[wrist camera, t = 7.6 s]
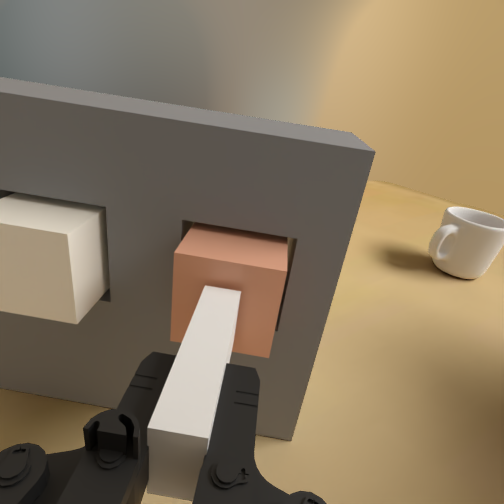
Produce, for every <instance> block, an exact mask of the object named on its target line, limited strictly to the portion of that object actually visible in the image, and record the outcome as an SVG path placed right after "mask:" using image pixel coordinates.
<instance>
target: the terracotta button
mask: <svg viewBox="0 0 504 504" xmlns="http://www.w3.org/2000/svg"><path fill="white" fill-rule="evenodd" d="M287 247H288V237H283V236H277V235H271V234H265V233H259V232H253V231H247V230H241V229H235V228H229V227H223V226H217V225H211V224H205V223H199V222H194V224H193V225H192V227H191V228H190V230H189V231H188V233H187V234H186V236H185V237H184V238H183V240H182V241H181V243H180V244H179V246H178V247H177V249H176V250H175V252H174V264H173V288H172V311H171V335H170V341H174V342H180V343H182V341H183V338H184V336H185V334H186V331H187V329H188V326H189V324H190V321H191V319H192V316H193V314H194V311H195V309H196V306H197V304H198V301H199V299H200V297H201V294H202V292H203V289H204V287H205V285H206V286H212V287H218V288H224V289H230V290H236V291H241V295H240V302H239V309H238V315H237V322H236V329H235V336H234V343H233V348H232V352H237V353H242V354H248V355H254V356H259V357H265V358H269V355H270V350H271V346H272V341H273V336H274V332H275V327H276V322H277V317H278V313H279V308H280V303H281V299H282V294H283V289H284V284H285V280H286V275H287Z"/></svg>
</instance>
